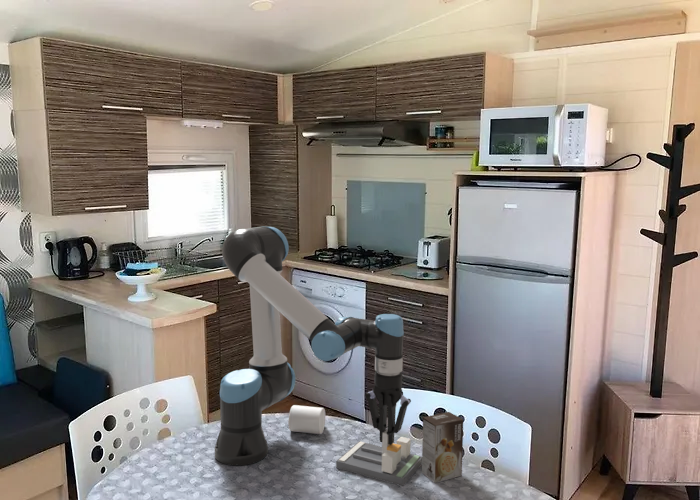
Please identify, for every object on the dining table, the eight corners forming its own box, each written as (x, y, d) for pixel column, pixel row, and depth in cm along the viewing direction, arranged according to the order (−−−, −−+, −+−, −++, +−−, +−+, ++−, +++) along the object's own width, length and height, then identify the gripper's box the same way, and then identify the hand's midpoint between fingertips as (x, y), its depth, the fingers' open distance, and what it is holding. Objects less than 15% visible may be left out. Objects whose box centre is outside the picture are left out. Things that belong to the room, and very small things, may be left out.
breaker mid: (386, 462, 160) (386, 447, 160) (390, 457, 163) (391, 442, 162) (396, 464, 159) (397, 449, 158) (400, 460, 162) (401, 445, 161)
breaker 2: (396, 455, 164) (396, 440, 164) (400, 451, 167) (400, 436, 166) (406, 458, 163) (406, 443, 162) (410, 453, 166) (410, 438, 165)
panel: (336, 467, 162) (336, 458, 161) (359, 447, 174) (359, 438, 174) (403, 486, 152) (403, 476, 152) (422, 463, 165) (422, 454, 164)
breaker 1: (381, 470, 155) (381, 455, 155) (386, 466, 158) (386, 450, 158) (391, 473, 154) (392, 457, 154) (396, 468, 157) (396, 453, 156)
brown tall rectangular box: (448, 465, 164) (450, 410, 162) (462, 476, 158) (464, 419, 156) (420, 473, 159) (422, 416, 157) (434, 484, 154) (436, 425, 152)
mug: (319, 438, 180) (319, 413, 179) (288, 435, 182) (288, 410, 181) (328, 422, 191) (328, 399, 190) (299, 420, 193) (299, 396, 192)
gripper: (360, 371, 159) (359, 454, 161) (405, 379, 153) (403, 465, 155) (372, 364, 165) (371, 443, 168) (415, 371, 159) (413, 453, 162)
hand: (386, 453), depth 162 cm, fingers closed
